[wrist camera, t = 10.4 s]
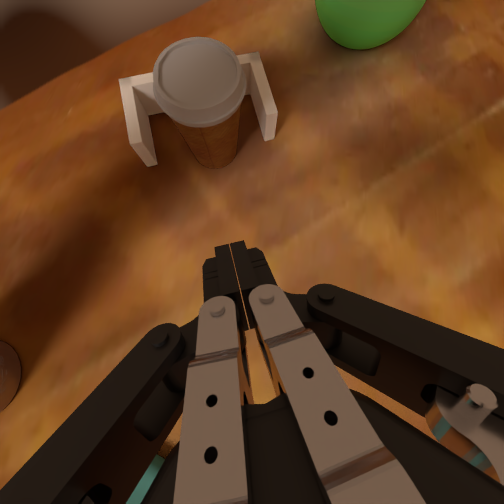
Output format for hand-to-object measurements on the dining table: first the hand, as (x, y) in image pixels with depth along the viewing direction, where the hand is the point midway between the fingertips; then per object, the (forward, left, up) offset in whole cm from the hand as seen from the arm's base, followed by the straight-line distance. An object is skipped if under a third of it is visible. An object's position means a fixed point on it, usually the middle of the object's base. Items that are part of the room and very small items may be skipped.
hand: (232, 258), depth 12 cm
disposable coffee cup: (+1, +20, -19) cm, 28 cm away
